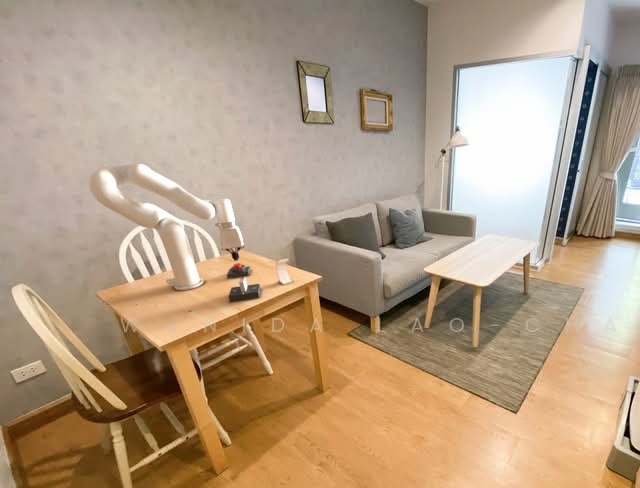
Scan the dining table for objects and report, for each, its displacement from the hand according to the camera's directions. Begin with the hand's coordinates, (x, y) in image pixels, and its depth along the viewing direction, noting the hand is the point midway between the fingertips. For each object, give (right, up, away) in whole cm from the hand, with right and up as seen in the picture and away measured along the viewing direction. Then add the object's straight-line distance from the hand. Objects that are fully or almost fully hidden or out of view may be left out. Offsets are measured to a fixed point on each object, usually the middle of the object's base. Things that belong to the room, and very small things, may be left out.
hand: (236, 259), depth 169 cm
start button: (0, -4, +2) cm, 4 cm away
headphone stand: (+27, -11, -6) cm, 30 cm away
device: (+14, -18, -19) cm, 30 cm away
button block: (0, -7, +3) cm, 8 cm away
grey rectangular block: (+14, -15, -21) cm, 29 cm away
